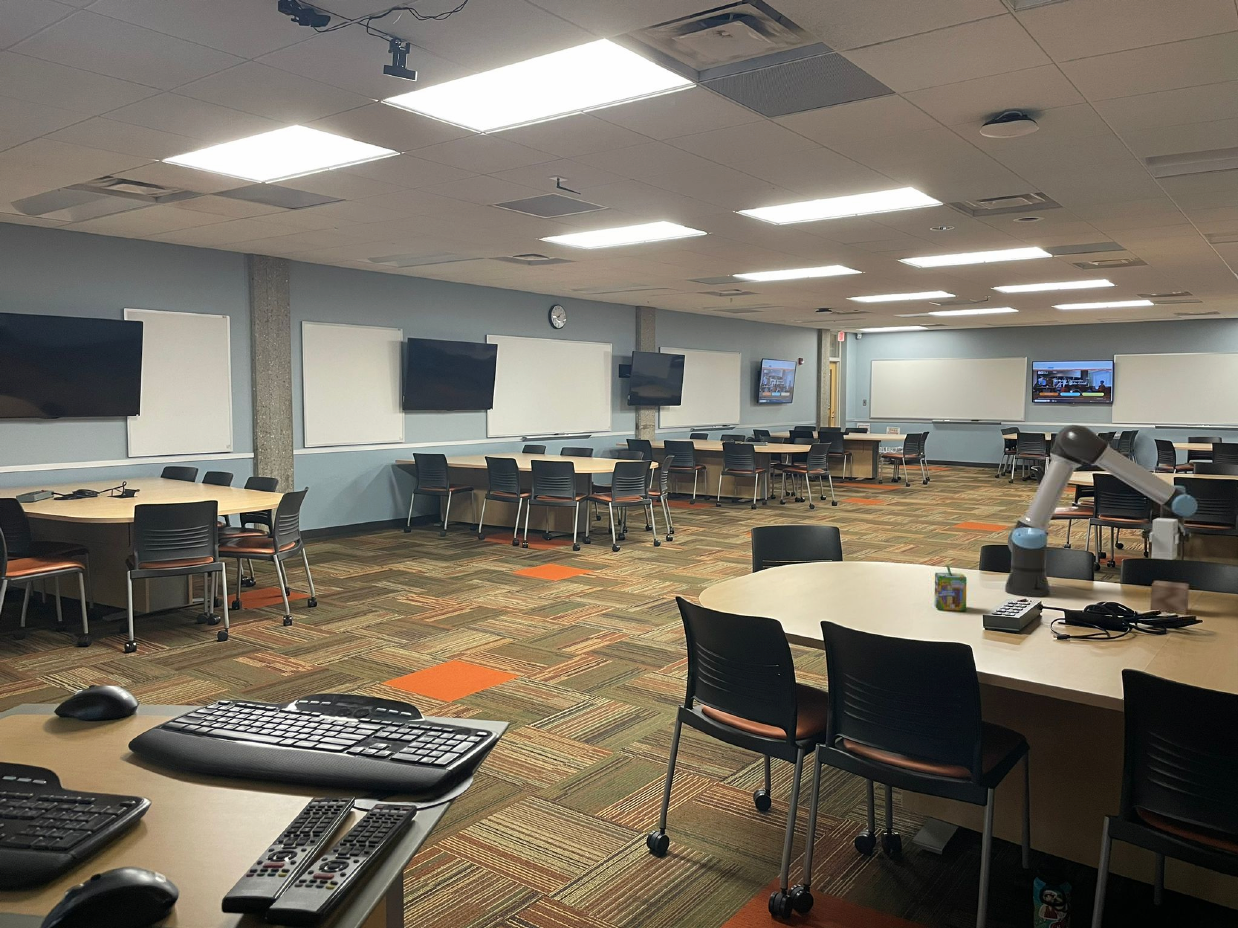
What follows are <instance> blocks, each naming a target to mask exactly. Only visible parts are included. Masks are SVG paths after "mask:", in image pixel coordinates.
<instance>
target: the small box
mask: <svg viewBox="0 0 1238 928" xmlns="http://www.w3.org/2000/svg"><path fill="white" fill-rule="evenodd" d="M1176 534H1178V519H1166V518H1160V517H1157V518H1155V519H1153V520H1152V542H1151V558H1152V559H1158V560H1170V561H1172V560H1174V559H1175V558H1177V557H1178V544H1175V535H1176Z"/></svg>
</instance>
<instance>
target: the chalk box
mask: <svg viewBox="0 0 1238 928" xmlns="http://www.w3.org/2000/svg"><path fill="white" fill-rule="evenodd" d="M945 565H946V569H947V572H935V573H934V602H933V603H934V604H933V605H934V607H935V608H936V610H938V611H956V612H957V611H959V612H967V576H965V575H964V574H962V573H960V572H959V573H957V572H951V569H950V568H951V567H950V566H949V564H948V563H946V564H945Z"/></svg>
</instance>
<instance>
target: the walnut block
mask: <svg viewBox="0 0 1238 928" xmlns="http://www.w3.org/2000/svg"><path fill="white" fill-rule="evenodd" d="M1150 588H1151V589H1150V610H1159V611H1161V612H1160V613H1164V612H1166V613H1165V614H1172V613H1176V614H1175V615H1183V616H1186V614H1187V612H1188V610H1189V589H1190V584H1189V583H1185V582H1176V581H1175V582H1174V581H1165V580H1163V581H1162V580H1154V581H1153V582H1152V583H1151V587H1150ZM1150 610H1149V611H1150Z"/></svg>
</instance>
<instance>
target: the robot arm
mask: <svg viewBox="0 0 1238 928" xmlns="http://www.w3.org/2000/svg"><path fill="white" fill-rule="evenodd" d="M1049 454H1050V457H1051V461H1050V463H1049V465H1048V467H1047V469H1046V471H1045V473H1044V475H1043V477H1042V479H1041V482H1040V483H1039V486H1038V488H1037V490H1036V492H1035V494H1034V497H1033V499H1032V500H1031V502H1030V504H1029V506H1028V508H1027V511H1026V513H1025V515H1024V516H1023V517H1020V518H1018V520H1017V521H1016V523H1015V525H1014V528H1013V529H1012V530H1011V532H1010V533H1009V534H1008V538H1007V547H1008V549H1009V551H1010V552H1011V557H1010V559H1011V561H1010V567H1011V568H1010V572H1009V574H1008V577H1007V580H1006V583H1005V585H1004V586H1005V589H1004V590H1005V592H1006V593H1007V594H1008V593H1009V594H1012V595H1016V596H1022V597H1023V596H1024V597H1025V596H1026V597H1034V598H1035V597H1036V598H1037V597H1040V598H1041V597H1048V596H1050V595H1051V587H1050V584H1049V583H1050V582H1049V580H1048V577H1047V574H1046V573H1047V572H1046V568H1047V544H1048V536H1049V533H1050V531H1049V527H1048V526H1049V523H1050V521H1051V519H1052V517H1053V515H1054V513H1055V512H1056V509H1057V508H1058V505H1059V503H1060V500H1061V499H1062V497H1063V494H1064V492H1065V490H1066V488H1067V486H1068V484H1069V482H1070V480H1071V478H1072V476H1073V474H1074V471H1075V470H1076V469H1077V468H1079V467H1081V466H1083V463H1084V462H1085V463H1088V465H1090V466H1098V467H1100V469H1103V470H1104V471H1106V472H1107V473H1109V474H1110V475H1112V476H1114V477H1116V478H1117V479H1119V480H1120V481H1122V482H1124V483H1125V484H1126V485H1129V486H1130V487H1132V488H1134V489H1135V490H1136V491H1137V492H1140V493H1142V494H1143V495H1145V496H1146V497H1148V498H1149V499H1151V500H1152V501H1154V502H1156V503H1158V504H1159V505H1160V515H1159V516H1160V517H1159V518H1166V519H1178V534H1176V535H1175V544H1177V545H1178V544H1179V543H1181V542H1184V541H1185V542H1187V543H1190V539H1191V538H1192V537H1191V533H1192V532H1191V531H1190V530H1187V531H1186V525H1185V517H1189V516H1191V515H1194V514H1195V513H1196V512H1197V509H1198V502H1197V501H1196V499H1195V498H1194V497H1193V496H1191V494H1187V492H1186V487H1185V486H1183V485H1172V484H1170V483H1169V482H1167V481H1165V480H1164V479H1162V478H1160V477H1159V476H1157V475H1155V474H1154V473H1152V472H1151V471H1149V470H1147V469H1146V468H1144V467H1143V466H1141V465H1140V464H1137V463H1136V462H1135V461H1133V460H1131V459H1130V458H1128V457H1126V456H1124V455H1123V454H1121V452H1120V453H1119V452H1118V451H1116V450H1114V449H1113V448H1112V447H1111V446H1110V443H1109V442H1107V441H1106V440H1105V439H1103V438H1102V437H1100V436H1099V435H1097V434H1096V433H1095V432H1094V431H1093V430H1092V429H1090V428H1089V427H1086V426H1083V425H1077V424H1071V425H1067V426H1064V427H1063V428H1061V429H1060V430H1059V431H1058V432H1057V434H1056V436H1055V439H1054V444H1053V446H1052V449H1051V450H1050V453H1049ZM1152 531H1153V528H1147V527H1146V528H1145V529H1144V530H1142V531H1141V538H1142V539H1147V542H1149V543H1152Z"/></svg>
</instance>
